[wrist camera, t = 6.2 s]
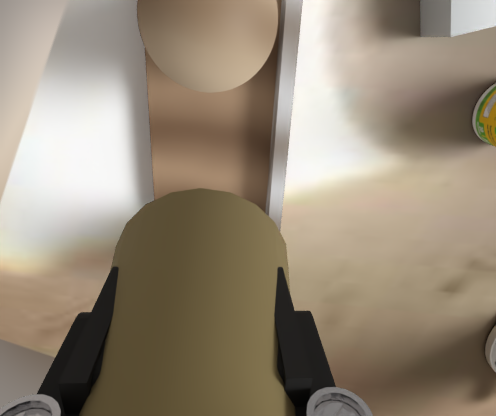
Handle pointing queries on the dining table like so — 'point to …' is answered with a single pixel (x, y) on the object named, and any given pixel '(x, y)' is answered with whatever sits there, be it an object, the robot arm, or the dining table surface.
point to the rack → (221, 95)
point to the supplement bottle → (486, 116)
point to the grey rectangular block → (455, 17)
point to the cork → (194, 312)
